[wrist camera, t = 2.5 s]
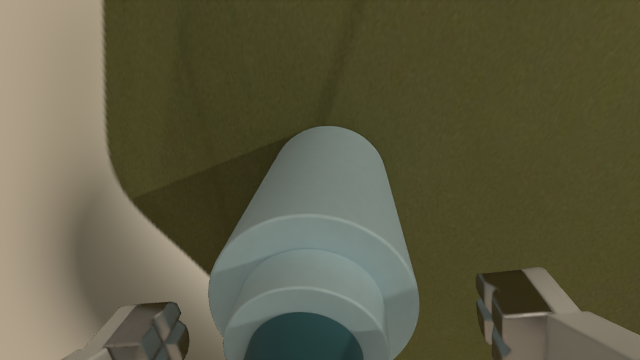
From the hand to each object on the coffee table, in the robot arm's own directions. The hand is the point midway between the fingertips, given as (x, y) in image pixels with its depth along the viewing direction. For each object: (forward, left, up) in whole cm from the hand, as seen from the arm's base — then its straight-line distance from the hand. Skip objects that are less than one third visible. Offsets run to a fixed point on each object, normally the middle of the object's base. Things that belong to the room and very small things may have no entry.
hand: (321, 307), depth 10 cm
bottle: (0, 0, -9) cm, 9 cm away
